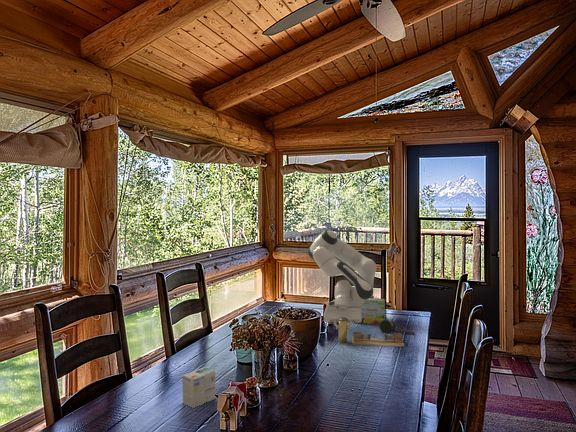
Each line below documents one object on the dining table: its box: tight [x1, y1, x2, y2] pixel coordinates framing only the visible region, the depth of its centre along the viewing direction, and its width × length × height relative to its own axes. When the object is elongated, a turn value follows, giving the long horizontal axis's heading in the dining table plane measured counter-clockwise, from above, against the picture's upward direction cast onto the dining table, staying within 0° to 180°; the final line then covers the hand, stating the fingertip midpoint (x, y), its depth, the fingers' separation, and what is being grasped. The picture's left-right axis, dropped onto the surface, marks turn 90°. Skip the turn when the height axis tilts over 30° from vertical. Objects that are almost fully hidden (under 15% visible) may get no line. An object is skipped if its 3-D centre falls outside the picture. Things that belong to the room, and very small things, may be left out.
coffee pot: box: [379, 319, 416, 336], centre depth 243 cm, size 8×18×8 cm
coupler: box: [338, 317, 348, 344], centre depth 228 cm, size 5×5×12 cm
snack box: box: [360, 297, 386, 326], centre depth 265 cm, size 21×6×15 cm, turn 73°
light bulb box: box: [181, 366, 217, 409], centre depth 159 cm, size 11×7×11 cm, turn 141°
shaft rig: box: [351, 331, 405, 347], centre depth 226 cm, size 10×26×5 cm, turn 83°
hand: (342, 329), depth 227 cm, fingers closed on coupler, 4 cm apart
